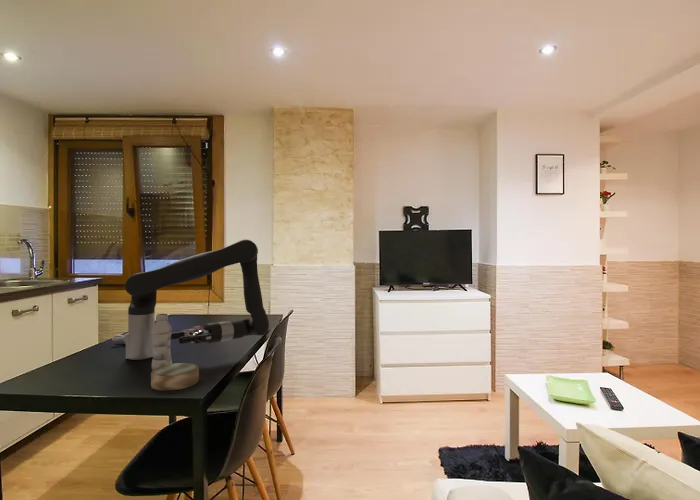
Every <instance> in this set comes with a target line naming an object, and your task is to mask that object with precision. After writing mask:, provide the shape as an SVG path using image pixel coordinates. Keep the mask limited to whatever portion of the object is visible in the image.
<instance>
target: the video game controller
mask: <svg viewBox="0 0 700 500" xmlns="http://www.w3.org/2000/svg"><path fill="white" fill-rule="evenodd" d="M194 328H198V329H201V330H203V329H204V327H203V326H200V325H196V326H195V325H194V326H193V327H192V328H190V329H194ZM185 335H187V333H185Z"/></svg>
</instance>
